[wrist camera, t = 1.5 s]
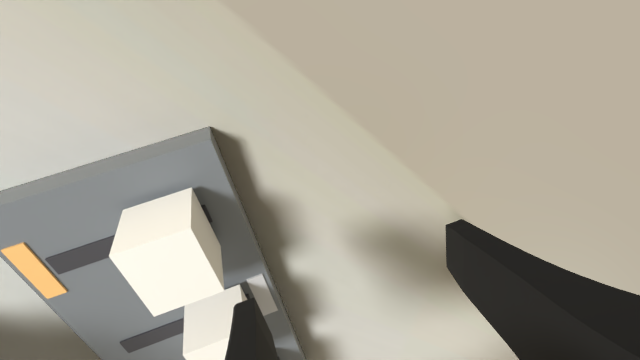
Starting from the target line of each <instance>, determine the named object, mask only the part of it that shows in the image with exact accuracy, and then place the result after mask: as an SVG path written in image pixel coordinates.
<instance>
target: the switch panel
mask: <svg viewBox="0 0 640 360" xmlns="http://www.w3.org/2000/svg"><path fill="white" fill-rule="evenodd" d="M191 187H192V189H193V191H194V193H195V195H196V197H197V199H198V201H199V203H200V205H201V207H202V209H203V211H204V213H205V215H206V217H207V219H208V221H209V223H210V225H211V227H212V229H213V231H214V233H215V235H216V237H217V239H218V241H219V243H220V245H221V256H222V268H223V280H224V290H226V289H228V288H231V287H234V286H237V285H239V284H240V286H241V288H242V290H243V292H244V294H245V296H246V298H247V300H248V299H251V298H253V297H254V298H255V300H256V302H257V304H258V306H259V308H260V310H261V312H262V314H263V317H264V319H265V321H266V323H267V325H268V327H269V329H270V331H271V333H272V336H273V340H274V344H275V348H276V352H277V357H278V360H306V358H305V356H304V353H303V351H302V348H301V346H300V344H299V341H298V339H297V336H296V334H295V331H294V329H293V327H292V324H291V322H290V319H289V317H288V315H287V312H286V310H285V307H284V305H283V302H282V300H281V298H280V295H279V293H278V290H277V288H276V286H275V283H274V281H273V278H272V276H271V274H270V271H269V269H268V266H267V264H266V261H265V259H264V257H263V254H262V252H261V249H260V247H259V245H258V242H257V240H256V237H255V235H254V232H253V230H252V228H251V225H250V223H249V220H248V218H247V216H246V213H245V211H244V208H243V206H242V203H241V201H240V199H239V196H238V194H237V191H236V189H235V187H234V184H233V182H232V179H231V177H230V174H229V172H228V170H227V167H226V165H225V162H224V160H223V158H222V155H221V153H220V150H219V148H218V146H217V143H216V141H215V138H214V136H213V133H212V131H211V129H210V127H206V128H203V129H200V130H197V131H193V132H190V133H187V134H184V135H180V136H177V137H174V138H171V139H168V140H164V141H161V142H158V143H155V144H151V145H148V146H145V147H142V148H138V149H135V150H132V151H129V152H125V153H122V154H119V155H116V156H113V157H109V158H106V159H103V160H100V161H96V162H93V163H90V164H87V165H83V166H80V167H77V168H74V169H70V170H67V171H64V172H61V173H58V174H54V175H51V176H48V177H45V178H41V179H38V180H35V181H32V182H28V183H25V184H22V185H19V186H15V187H12V188H9V189H6V190H3V191H0V257H1V258H2V259H3V260H4V261H5V262H6V263H7V264H8V265H9V266H10V267H11V268H12V269H13V270H14V271H15V272H16V273H17V274H18V275H19V276H20V277H21V278H22V279H23V280H24V281H25V282H26V283H27V284H28V285H29V286H30V287H31V288H32V289H33V290H34V291H35V292H36V293H37V294H38V295H39V296H40V297H41V298H42V299H43V300H44V301H45V303H46V304H47V305H48V306H49V307H50V308H51V309H52V310H53V311H54V312H55V313H56V314H57V315H58V316H59V317H60V318H61V319H62V320H63V321H64V322H65V323H66V324H67V325H68V326H69V327H70V328H71V329H72V330H73V331H74V332H75V333H76V334H77V335H78V336H79V337H80V338H81V339H82V340H83V341H84V342H85V343H86V344H87V345H88V346H89V347H90V348H91V349H92V350H93V351H94V352H95V353H96V354H97V356H98V357H99V358H100V359H101V360H186V359H185V358H184V356H183V334H184V307H185V306H182V307H179V308H177V309H174V310H171V311H168V312H166V313H163V314H160V315H158V316H155V317H154V316H153V315H152V313H151V312H150V311H149V309H148V308H147V307H146V305H145V304H144V303H143V301H142V300H141V299H140V297H139V296H138V295H137V293H136V292H135V291H134V289H133V288H132V287H131V285H130V284H129V283H128V281H127V280H126V279H125V277H124V276H123V275H122V273H121V272H120V271H119V269H118V268H117V267H116V265H115V264H114V263H113V261H112V260H111V259H110V257H109V254H110V251H111V247H112V244H113V241H114V237H115V234H116V231H117V228H118V224H119V221H120V218H121V214H122V211H123V210H124V209H127V208H130V207H133V206H136V205H139V204H142V203H145V202H148V201H152V200H155V199H158V198H161V197H164V196H167V195H170V194H173V193H176V192H179V191H182V190H185V189H188V188H191Z"/></svg>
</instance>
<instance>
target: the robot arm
mask: <svg viewBox="0 0 640 360" xmlns="http://www.w3.org/2000/svg"><path fill="white" fill-rule="evenodd" d="M446 259H447V268H448V269H449V271H450V272H451V274H452V275H453V277H454V279H455V280H456V282H457V283H458V285H459V286H460V288H461V289H462V291H463V292H464V293H465V294H466V296H467V297H468V298H469V299H470V301H471V302H472V303H473V304H474V305H475V307H476V308H477V309H478V310H479V311H480V312H481V314H482V315H483V316H484V317H485V318H486V320H487V321H488V322H489V323H490V324H491V325H492V327H493V328H494V329H495V330H496V331H497V333H498V334H499V335H500V336H501V337H502V338H503V340H504V341H505V342H506V343H507V344H508V346H509V347H510V348H511V349H512V351H513V352H514V353H515V354H516V356H517V357H518V358H519V360H640V296H639V295H636V294H633V293H630V292H626V291H623V290H620V289H617V288H614V287H611V286H608V285H605V284H602V283H599V282H597V281H594V280H591V279H588V278H586V277H583V276H580V275H578V274H575V273H573V272H570V271H568V270H565V269H563V268H560V267H558V266H556V265H553V264H551V263H549V262H546V261H544V260H542V259H540V258H538V257H535V256H533V255H531V254H529V253H527V252H524V251H523V250H521V249H519V248H517V247H514V246H512V245H510V244H508V243H506V242H505V241H502V240H501V239H499V238H497V237H495V236H493V235H491V234H489V233H487V232H485V231H483V230H481V229H480V228H478V227H476V226H474V225H472V224H470V223H468V222H466V221H464V220H462V219H461V220H458V221H456V222H453V223H450V224H448V225H446ZM225 360H278V357H277V352H276V348H275V344H274V340H273V336H272V333H271V331H270V329H269V327H268V325H267V323H266V321H265V319H264V317H263V314H262V312H261V310H260V308H259V306H258V304H257V302H256V300H255V298H254V297H253V298H251V299H248V300H245V301H243V302H240V303H237V304H236V305H235V306H234V308H233V317H232V324H231V331H230V336H229V341H228V347H227V351H226V356H225Z"/></svg>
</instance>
